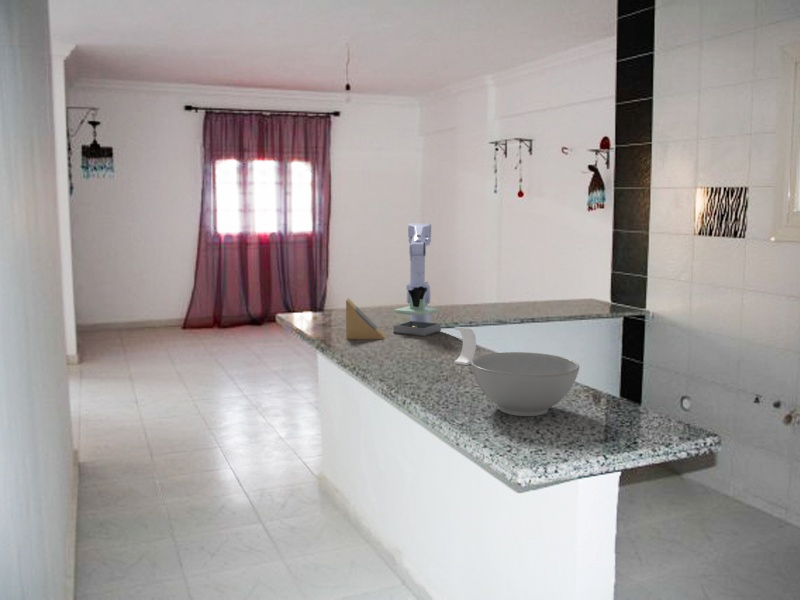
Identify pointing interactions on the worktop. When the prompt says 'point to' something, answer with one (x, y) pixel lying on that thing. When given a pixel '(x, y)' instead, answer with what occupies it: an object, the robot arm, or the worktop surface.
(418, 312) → the lid
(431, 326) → the tub
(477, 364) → the decorative bowl
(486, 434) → the worktop surface
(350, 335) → the sandwich container
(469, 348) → the headphone stand
